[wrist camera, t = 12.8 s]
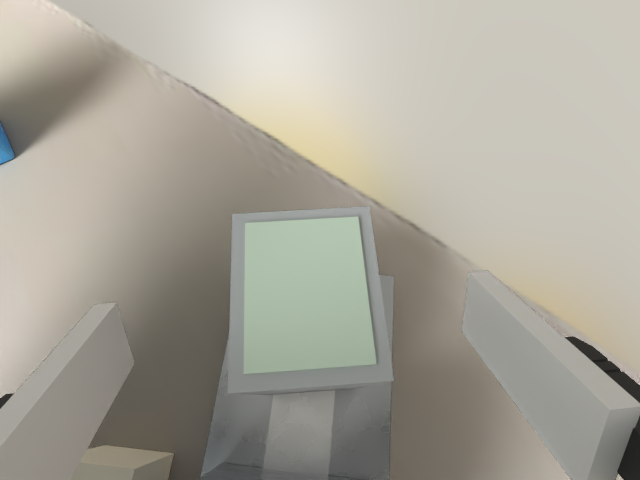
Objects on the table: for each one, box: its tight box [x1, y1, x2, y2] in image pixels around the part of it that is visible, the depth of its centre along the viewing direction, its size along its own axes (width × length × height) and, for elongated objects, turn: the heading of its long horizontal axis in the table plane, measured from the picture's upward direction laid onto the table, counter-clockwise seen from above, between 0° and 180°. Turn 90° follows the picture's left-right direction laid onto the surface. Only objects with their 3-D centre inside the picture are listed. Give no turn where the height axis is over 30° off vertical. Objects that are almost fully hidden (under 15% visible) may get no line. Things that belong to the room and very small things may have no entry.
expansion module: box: [228, 206, 394, 395], centre depth 17 cm, size 5×6×11 cm
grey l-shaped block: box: [198, 275, 394, 480], centre depth 16 cm, size 10×21×10 cm, turn 174°
